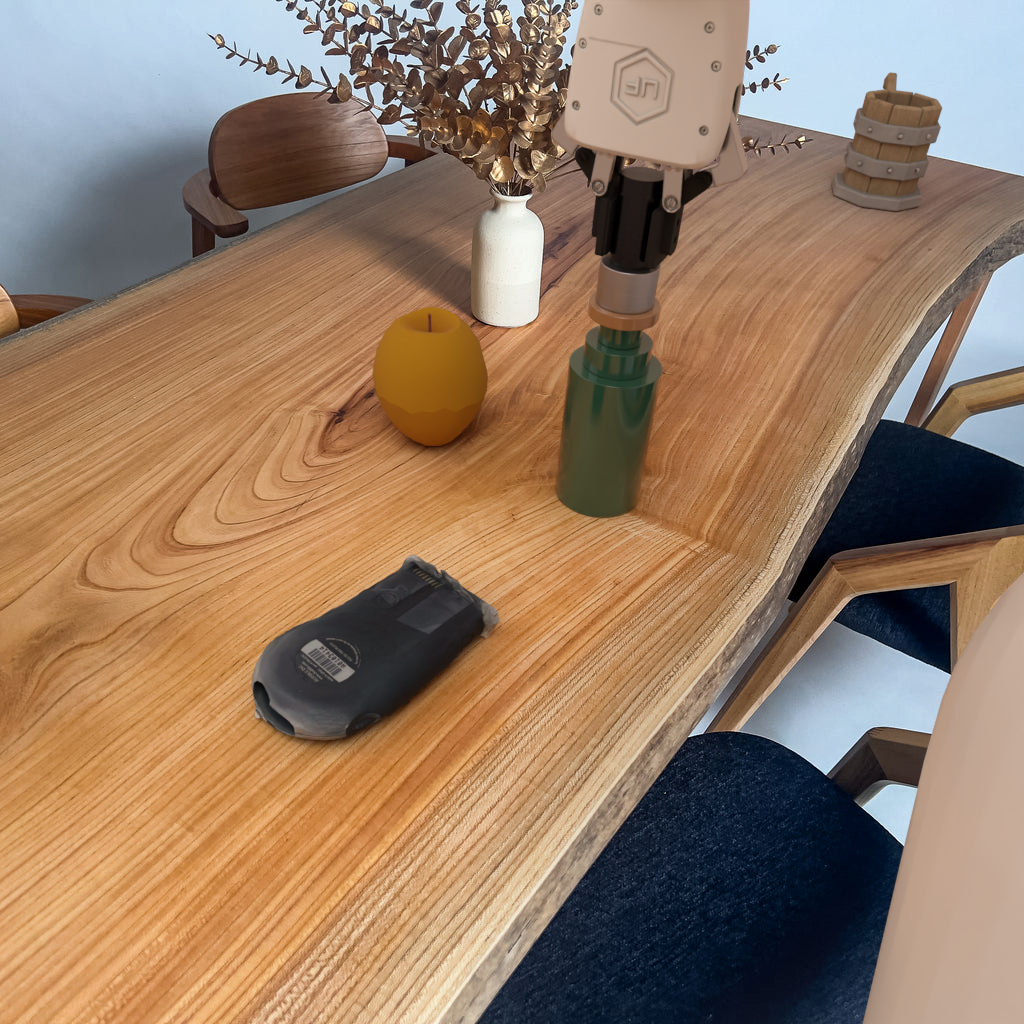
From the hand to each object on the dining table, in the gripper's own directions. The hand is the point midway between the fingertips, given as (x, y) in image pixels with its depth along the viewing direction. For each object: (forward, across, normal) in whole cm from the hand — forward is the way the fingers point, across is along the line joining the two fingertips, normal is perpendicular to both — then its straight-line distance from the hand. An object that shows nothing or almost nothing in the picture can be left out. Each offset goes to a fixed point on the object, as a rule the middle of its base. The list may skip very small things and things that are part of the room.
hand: (631, 253), depth 62 cm
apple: (+21, -16, 0) cm, 26 cm away
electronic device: (+21, -6, -26) cm, 33 cm away
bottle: (+21, 0, 0) cm, 21 cm away
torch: (+4, 0, 0) cm, 4 cm away
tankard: (+21, +7, +95) cm, 98 cm away
